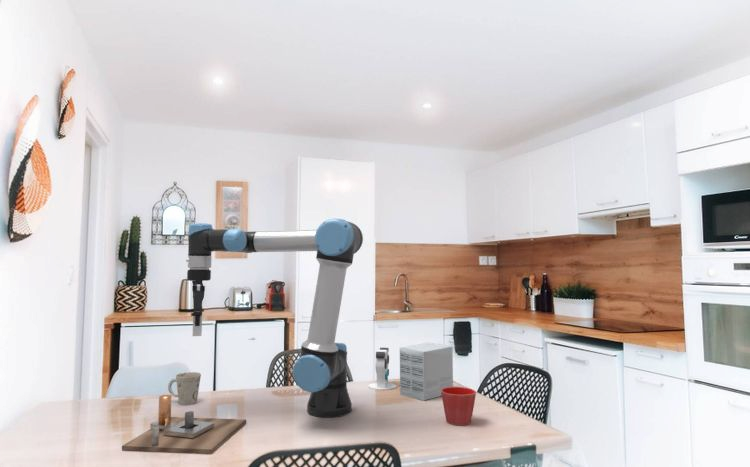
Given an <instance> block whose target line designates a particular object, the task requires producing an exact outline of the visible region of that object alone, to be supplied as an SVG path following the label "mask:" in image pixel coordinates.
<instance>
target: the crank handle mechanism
mask: <svg viewBox="0 0 750 467" xmlns="http://www.w3.org/2000/svg"><path fill="white" fill-rule="evenodd" d="M171 417H172V395H171V394H162V395H159V396H158V420H157V421H154V422H152V423H150V426H149V428H150V429H151V428H153V427H159V429H164V430H163V435H170V436H179V437H188V438H194V437H196V436H198V435H200V434H202V433H203V432H205V431H207V430H209V429H211V428H213V427H214V422H204V421H194V428H192V429H185V420H184V421H182V422H180V423H171Z"/></svg>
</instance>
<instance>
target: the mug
mask: <svg viewBox="0 0 750 467" xmlns="http://www.w3.org/2000/svg"><path fill="white" fill-rule="evenodd" d="M201 376H202V374H201V373H200V372H197V371H191V372H190V371H189V372H188V371H187V372H182V373H178V374H176V375H175V378H172V379H171V380H170V381H169V382H168V385H167V390H168V393H169V395H171V397H174V398H178V404H179V405H182V406H187V405H188V406H190V405H193V404H196V403H197V401H198V397H199V389H200V382H201ZM174 383H176V389H177V394H176V393H174V391H173V390H172V389H173V388H172V386H173V384H174Z"/></svg>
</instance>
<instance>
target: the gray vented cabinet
mask: <svg viewBox="0 0 750 467" xmlns="http://www.w3.org/2000/svg"><path fill="white" fill-rule="evenodd" d="M453 355H454V354H453V346H452V345H447V344H441V343H434V342H424V343H420V344H413V345H407V346H402V347H399V394H400V395H401V396H405V397H408V398H412V399H416V400H419V401H424V402H425V401H427V400H431V399H434V398H439V397H442V394H441V390H442V389H443V388H447V387H454V378H453V377H454V375H453V374H454V367H453V364H454V361H453V358H454V357H453Z"/></svg>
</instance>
